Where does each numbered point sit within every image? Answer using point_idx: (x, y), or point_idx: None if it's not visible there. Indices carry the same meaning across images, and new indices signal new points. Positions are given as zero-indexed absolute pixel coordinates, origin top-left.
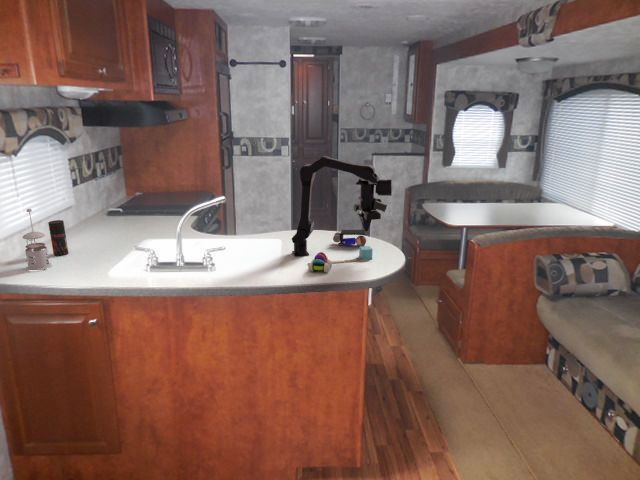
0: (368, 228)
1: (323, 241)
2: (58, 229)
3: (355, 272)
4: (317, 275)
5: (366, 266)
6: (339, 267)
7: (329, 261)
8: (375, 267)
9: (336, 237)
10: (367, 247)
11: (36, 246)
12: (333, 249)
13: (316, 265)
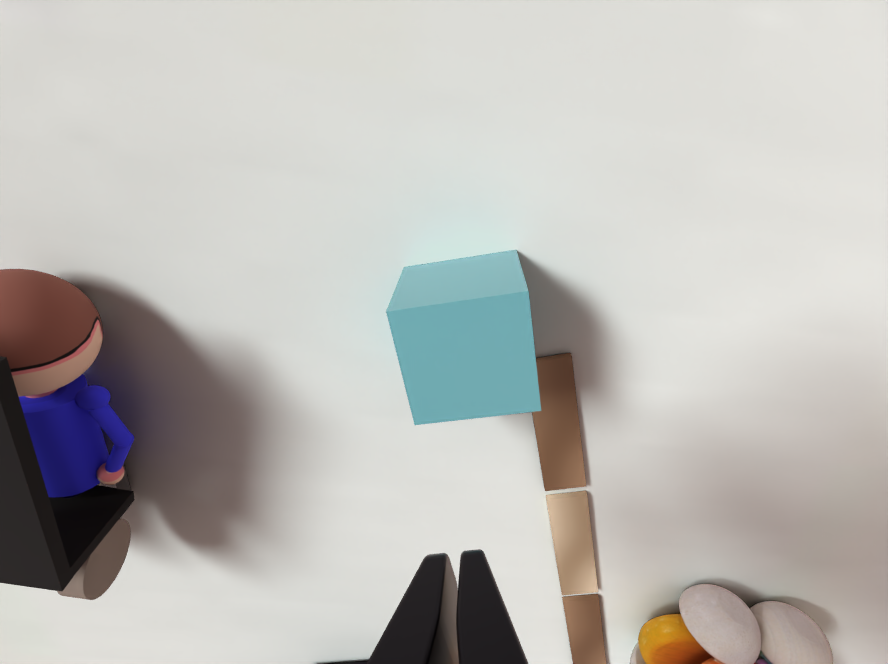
0: (502, 606)
1: None
2: None
3: (862, 440)
4: None
5: (739, 335)
6: (695, 529)
7: (754, 651)
8: (801, 252)
9: (98, 573)
10: (447, 342)
11: None
12: (244, 527)
13: None
